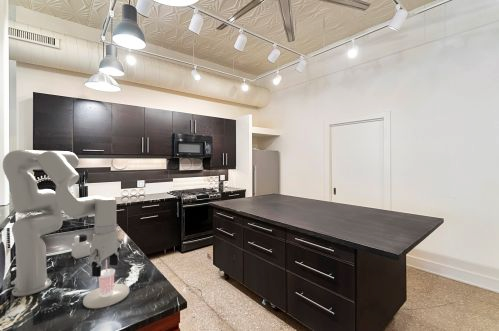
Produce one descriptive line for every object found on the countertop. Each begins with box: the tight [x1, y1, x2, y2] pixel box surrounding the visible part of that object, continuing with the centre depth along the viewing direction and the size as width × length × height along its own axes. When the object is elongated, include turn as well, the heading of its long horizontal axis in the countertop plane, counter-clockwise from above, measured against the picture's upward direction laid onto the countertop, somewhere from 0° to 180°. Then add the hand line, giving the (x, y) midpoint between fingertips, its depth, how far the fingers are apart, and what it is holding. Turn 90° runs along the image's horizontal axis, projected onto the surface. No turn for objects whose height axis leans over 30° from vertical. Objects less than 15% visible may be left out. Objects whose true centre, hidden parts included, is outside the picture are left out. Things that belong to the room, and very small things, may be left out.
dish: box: [82, 283, 130, 309], centre depth 95 cm, size 16×16×1 cm
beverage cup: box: [98, 258, 116, 297], centre depth 95 cm, size 6×6×14 cm
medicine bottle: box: [71, 233, 91, 260], centre depth 137 cm, size 7×7×12 cm
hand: (105, 270), depth 95 cm, fingers open, 9 cm apart
